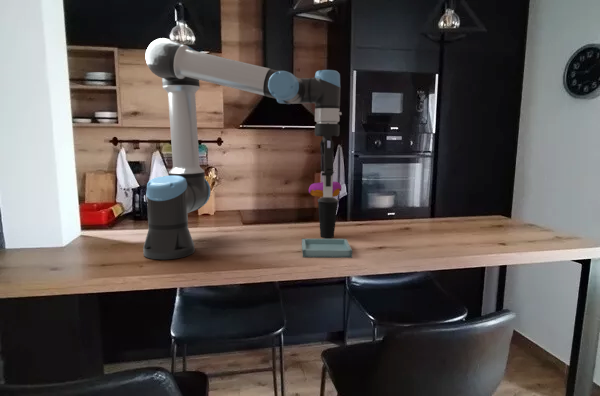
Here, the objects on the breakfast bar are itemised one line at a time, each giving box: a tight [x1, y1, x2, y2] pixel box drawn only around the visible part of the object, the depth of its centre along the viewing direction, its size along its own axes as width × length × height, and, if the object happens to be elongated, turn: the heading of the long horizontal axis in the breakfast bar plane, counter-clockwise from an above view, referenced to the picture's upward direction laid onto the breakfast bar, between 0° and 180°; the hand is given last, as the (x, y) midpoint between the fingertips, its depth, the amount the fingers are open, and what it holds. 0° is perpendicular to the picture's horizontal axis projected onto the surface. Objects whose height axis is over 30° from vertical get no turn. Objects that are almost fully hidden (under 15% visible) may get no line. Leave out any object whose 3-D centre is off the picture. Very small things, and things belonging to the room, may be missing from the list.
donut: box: [308, 181, 342, 198], centre depth 131 cm, size 10×10×5 cm
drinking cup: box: [317, 197, 340, 239], centre depth 150 cm, size 8×8×20 cm
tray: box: [301, 238, 353, 259], centre depth 134 cm, size 15×14×2 cm
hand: (326, 194), depth 131 cm, fingers closed on donut, 11 cm apart
